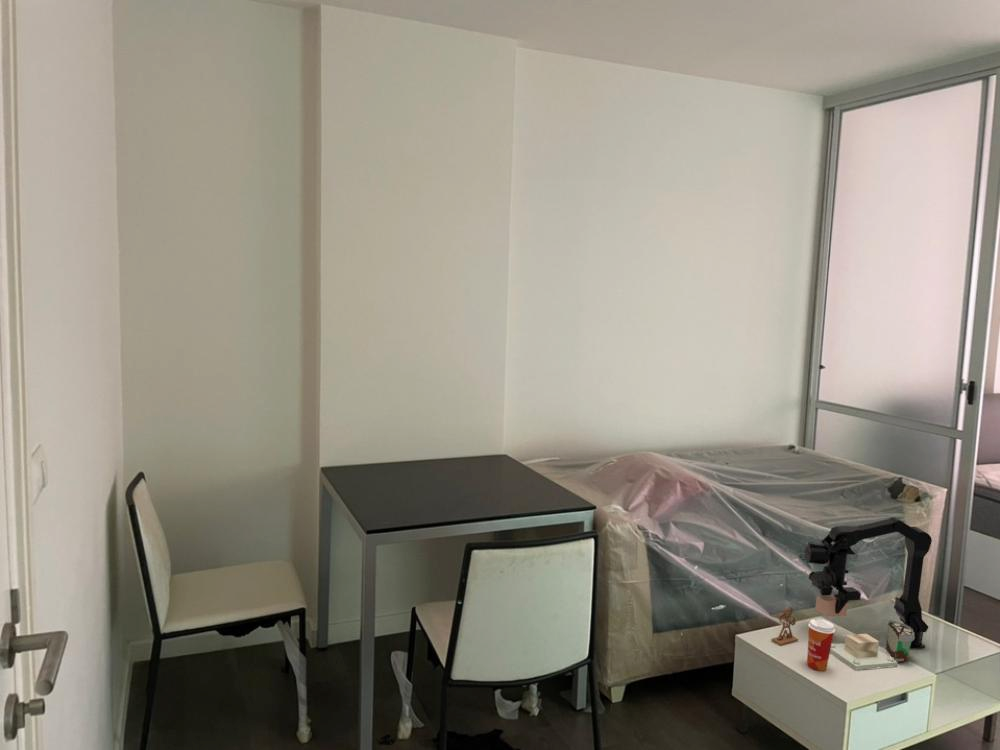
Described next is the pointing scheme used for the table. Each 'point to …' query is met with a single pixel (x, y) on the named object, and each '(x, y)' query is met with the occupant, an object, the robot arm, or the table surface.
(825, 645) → the paper cup
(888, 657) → the build plate
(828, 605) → the terracotta brick
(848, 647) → the birch brick
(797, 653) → the table surface
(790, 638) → the brown figurine
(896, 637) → the food container
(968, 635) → the table surface
